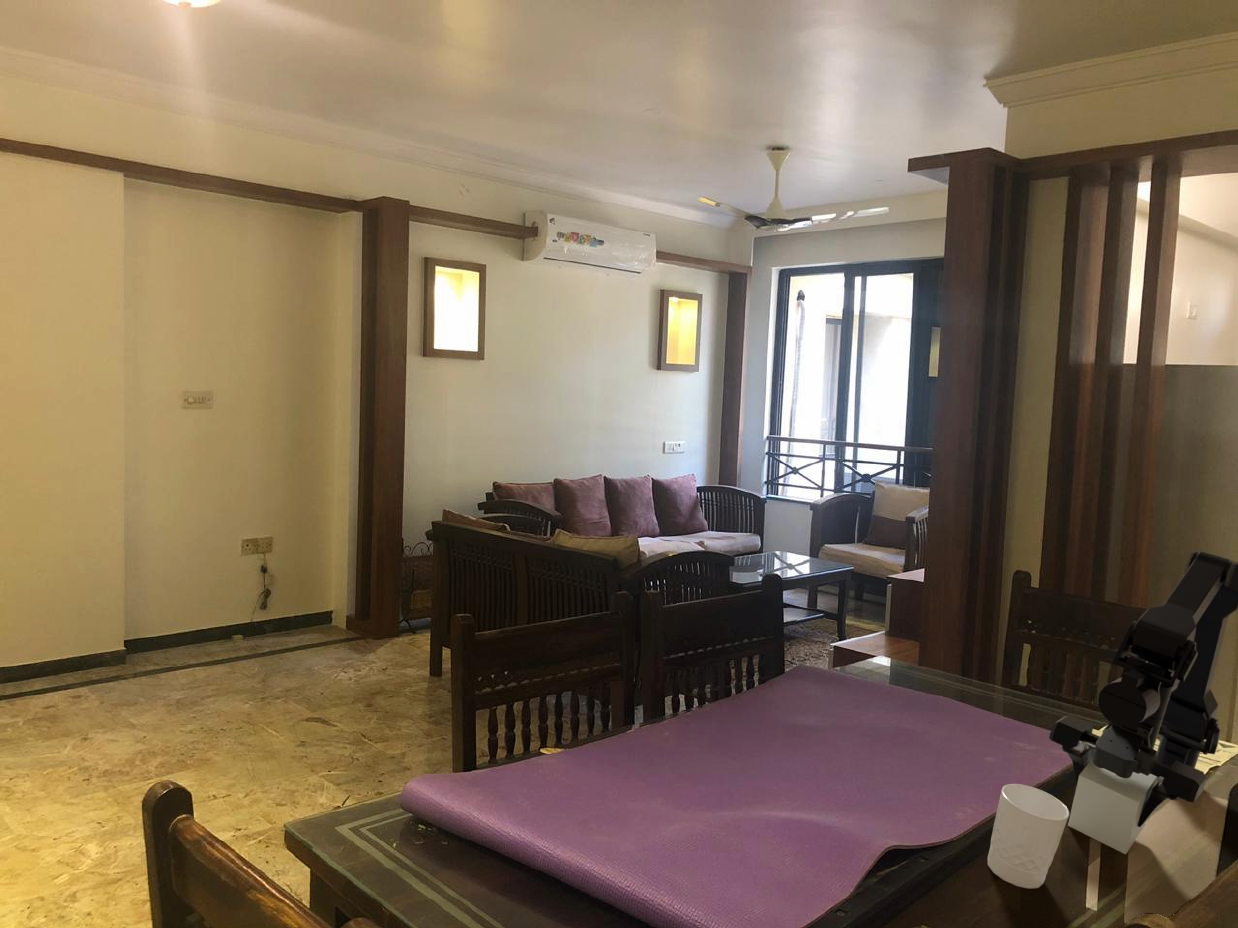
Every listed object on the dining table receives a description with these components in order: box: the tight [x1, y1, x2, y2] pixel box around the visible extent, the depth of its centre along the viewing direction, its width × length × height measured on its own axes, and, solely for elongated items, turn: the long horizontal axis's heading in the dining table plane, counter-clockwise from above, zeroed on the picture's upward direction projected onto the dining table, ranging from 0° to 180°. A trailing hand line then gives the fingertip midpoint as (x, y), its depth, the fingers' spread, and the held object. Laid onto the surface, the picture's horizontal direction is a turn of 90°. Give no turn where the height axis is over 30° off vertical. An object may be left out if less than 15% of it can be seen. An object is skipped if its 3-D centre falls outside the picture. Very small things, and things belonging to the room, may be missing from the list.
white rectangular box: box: [1067, 758, 1158, 855], centre depth 132 cm, size 8×8×9 cm
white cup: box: [987, 783, 1070, 889], centre depth 118 cm, size 8×8×10 cm
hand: (1108, 811), depth 132 cm, fingers closed on white rectangular box, 8 cm apart
